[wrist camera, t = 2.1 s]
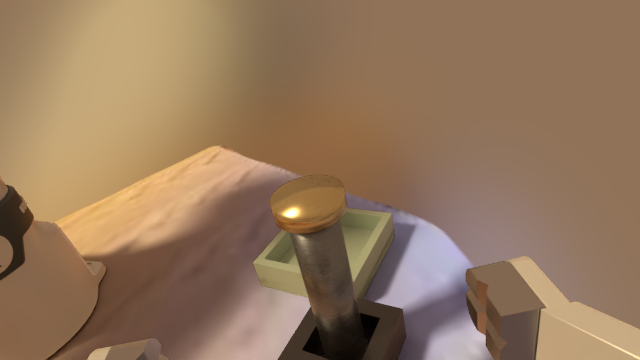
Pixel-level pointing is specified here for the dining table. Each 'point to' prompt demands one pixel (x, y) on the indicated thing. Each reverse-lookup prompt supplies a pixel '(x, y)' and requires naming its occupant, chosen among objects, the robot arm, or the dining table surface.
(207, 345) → the dining table surface
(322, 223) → the lock pin
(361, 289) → the tray
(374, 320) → the pin collar
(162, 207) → the dining table surface
